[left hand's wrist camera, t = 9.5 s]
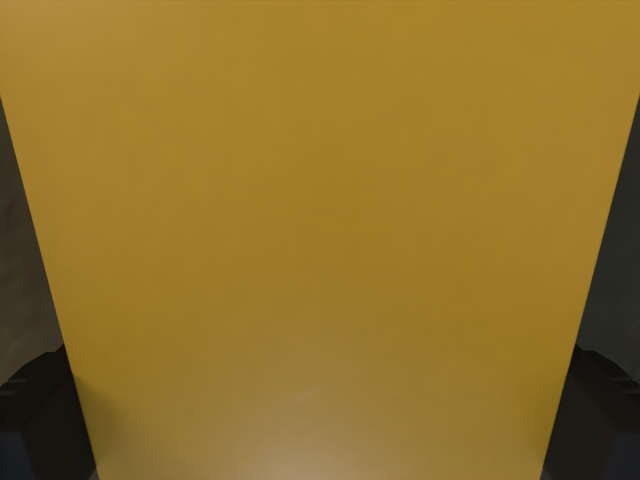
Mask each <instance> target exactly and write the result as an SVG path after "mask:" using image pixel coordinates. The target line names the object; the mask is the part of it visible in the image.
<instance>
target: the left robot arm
mask: <svg viewBox="0 0 640 480" xmlns="http://www.w3.org/2000/svg"><path fill="white" fill-rule="evenodd" d="M543 467H544V469H545V471H546V472H547V474H548V476H549V477H550V479H551V480H640V385H639V384H638V383H636V382H635V381H632V378H631V377H630V376H629V375H628V374H627V373H626V372H624V371H623V370H622V369H621V368H620V367H619V366H618V365H617V364H616V363H614V362H612V361H611V360H609V359H607V358H605V357H604V356H602V355H600V354H599V353H597V352H595V351H583V350H582V349H581V348H580V347H579V346H578V345H577V344H576V343H575V346H574V350H573V353H572V357H571V361H570V365H569V369H568V373H567V376H566V380H565V384H564V388H563V392H562V396H561V400H560V403H559V407H558V411H557V415H556V419H555V423H554V426H553V430H552V434H551V438H550V442H549V446H548V450H547V453H546V457H545V461H544V465H543ZM95 468H96V464H95V460H94V456H93V452H92V448H91V445H90V441H89V437H88V433H87V429H86V425H85V421H84V417H83V414H82V410H81V406H80V402H79V398H78V394H77V390H76V386H75V383H74V379H73V375H72V371H71V367H70V363H69V359H68V356H67V352H66V348H65V344H63V345H62V346H61V347H60V348H59V349H58V350H57V351H56V352H45V353H44V354H42V355H40V356H39V357H37V358H35V359H33V360H32V361H30V362H28V363H27V364H25V365H24V366H22V367H21V368H20V369H19V370H18V371H17V372H16V373H15V374H14V375H13V376H12V377H11V378H9V379H8V382H7V383H4V384H3V385H2V386H1V387H0V480H89V478H90V477H91V475H92V473H93V472H94V470H95Z"/></svg>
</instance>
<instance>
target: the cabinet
mask: <svg viewBox="0 0 640 480" xmlns="http://www.w3.org/2000/svg"><path fill="white" fill-rule="evenodd" d="M0 96H1V100H2V104H3V108H4V112H5V115H6V119H7V123H8V127H9V131H10V135H11V139H12V143H13V146H14V150H15V154H16V158H17V162H18V166H19V170H20V174H21V177H22V181H23V185H24V189H25V193H26V197H27V201H28V204H29V208H30V212H31V216H32V220H33V224H34V228H35V232H36V235H37V239H38V243H39V247H40V251H41V255H42V259H43V263H44V266H45V270H46V274H47V278H48V282H49V286H50V290H51V294H52V297H53V301H54V305H55V309H56V313H57V317H58V321H59V325H60V328H61V332H62V336H63V340H64V344H65V348H66V352H67V356H68V359H69V363H70V367H71V371H72V375H73V379H74V383H75V386H76V390H77V394H78V398H79V402H80V406H81V410H82V414H83V417H84V421H85V425H86V429H87V433H88V437H89V441H90V445H91V448H92V452H93V456H94V460H95V464H96V468H97V472H98V476H99V479H100V480H540V476H541V473H542V469H543V465H544V461H545V457H546V453H547V450H548V446H549V442H550V438H551V434H552V430H553V426H554V423H555V419H556V415H557V411H558V407H559V403H560V400H561V396H562V392H563V388H564V384H565V380H566V376H567V373H568V369H569V365H570V361H571V357H572V353H573V350H574V346H575V342H576V338H577V334H578V330H579V327H580V323H581V319H582V315H583V311H584V307H585V303H586V300H587V296H588V292H589V288H590V284H591V280H592V277H593V273H594V269H595V265H596V261H597V257H598V253H599V250H600V246H601V242H602V238H603V234H604V230H605V227H606V223H607V219H608V215H609V211H610V207H611V204H612V200H613V196H614V192H615V188H616V184H617V180H618V177H619V173H620V169H621V165H622V161H623V157H624V154H625V150H626V146H627V142H628V138H629V134H630V130H631V127H632V123H633V119H634V115H635V111H636V107H637V104H638V100H639V96H640V0H0Z"/></svg>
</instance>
